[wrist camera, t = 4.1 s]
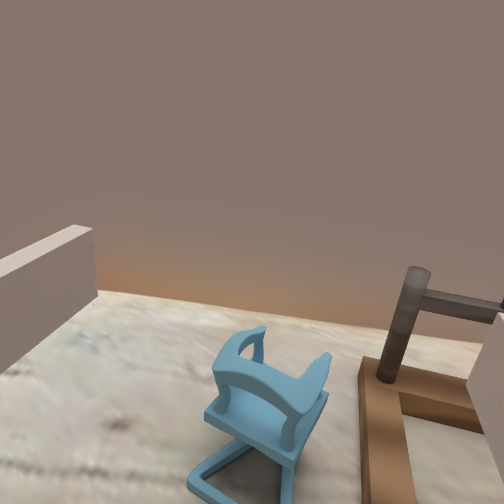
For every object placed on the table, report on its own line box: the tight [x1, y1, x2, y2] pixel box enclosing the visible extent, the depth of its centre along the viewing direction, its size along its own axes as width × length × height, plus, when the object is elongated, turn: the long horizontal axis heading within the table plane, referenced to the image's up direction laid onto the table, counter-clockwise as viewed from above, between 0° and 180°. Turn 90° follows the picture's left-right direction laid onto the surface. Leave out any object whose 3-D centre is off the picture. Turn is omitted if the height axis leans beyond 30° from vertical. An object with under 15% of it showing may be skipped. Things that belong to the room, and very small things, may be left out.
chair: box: [187, 326, 332, 504], centre depth 27 cm, size 8×8×12 cm
